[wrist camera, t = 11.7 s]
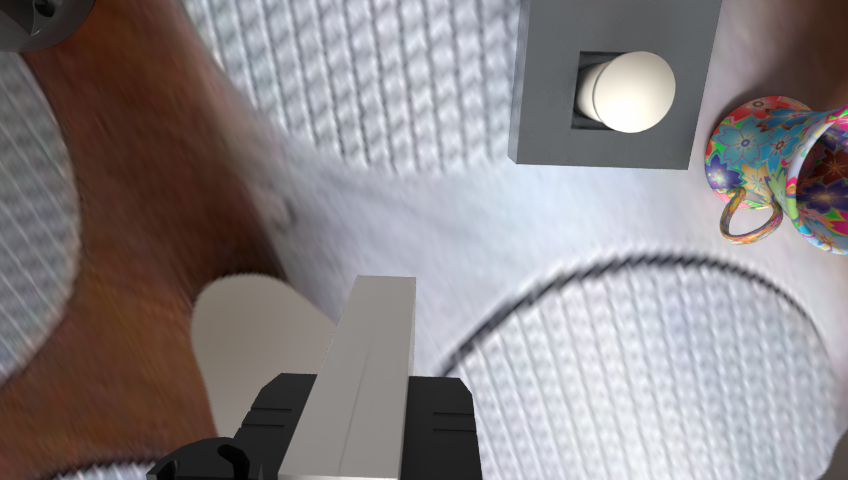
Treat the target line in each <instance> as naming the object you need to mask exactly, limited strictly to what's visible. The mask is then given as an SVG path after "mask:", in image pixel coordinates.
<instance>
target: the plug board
mask: <svg viewBox="0 0 848 480" xmlns="http://www.w3.org/2000/svg"><path fill="white" fill-rule="evenodd" d="M721 3H722V0H521V4H520V16H519V28H518V39H517V51H516V63H515V75H514V87H513V98H512V110H511V122H510V134H509V146H508V157H509V158H510V159H511V160H512V161H513V162H514V163H515V164H530V165H560V166H589V167H618V168H648V169H677V170H688V166H689V161H690V156H691V151H692V146H693V141H694V136H695V131H696V126H697V121H698V116H699V111H700V106H701V101H702V97H703V92H704V87H705V82H706V77H707V72H708V67H709V62H710V57H711V52H712V47H713V42H714V37H715V32H716V27H717V22H718V17H719V12H720V8H721ZM639 51H644V52H650V53H653V54H656V55H658V56H659V57H661V58H662V59H664V60H665V61H666V62H667V64H668V65H669V66H670V68H671V70H672V72H673V75H674V78H675V95H674V99H673V102H672V105H671V107H670V108H669V110H668V112H667V113H666V115H665V116H664V117H663V118H662V119H661V120H660V121H659V122H658V123H656V124H655V125H654V126H652V127H650V128H648V129H646V130H643V131H640V132H634V133H628V132H622V131H618V130H614V129H612V128H610V127H608V126H606V125H605V124H604V123H603V122H599V121H594V120H590V119H586V118H584V117H582V116H581V115H579V114H578V113H577V112H576V111H575V109H574V107H573V105H574V96H575V88H576V80H577V75H578V73H579V72H580V71H581V70H582V69H584V68H585V67H587V66H589V65H591V64H594V63H600V62H606V61H611V60H613V59H614V58H616V57H618V56H620V55H623V54H626V53H632V52H639Z"/></svg>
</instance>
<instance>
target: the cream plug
mask: <svg viewBox="0 0 848 480" xmlns="http://www.w3.org/2000/svg"><path fill="white" fill-rule="evenodd" d="M674 95H675V78H674V75H673V72H672V70H671V68H670V66H669V65H668V64H667V62H666V61H665V60H664V59H662V58H661V57H659V56H658V55H656V54H653V53H650V52H644V51H639V52H632V53H626V54H623V55H620V56H618V57H616V58H614V59H613V60H611V61H606V62H600V63H594V64H591V65H589V66H587V67H585V68H584V69H582V70H581V71H580V72H579V73H578V75H577V80H576V88H575V96H574V105H573V107H574V109H575V111H576V112H577V113H578V114H579V115H581V116H582V117H584V118H586V119H590V120H594V121H599V122H603V123H604V124H605V125H606V126H608V127H610V128H612V129H614V130H618V131H622V132H628V133H634V132H640V131H643V130H646V129H648V128H650V127H652V126H654V125H655V124H656V123H658V122H659V121H660V120H661V119H662V118H663V117H664V116H665V115H666V113H667V112H668V110H669V108H670V107H671V105H672V102H673V99H674Z"/></svg>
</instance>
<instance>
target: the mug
mask: <svg viewBox="0 0 848 480" xmlns="http://www.w3.org/2000/svg"><path fill="white" fill-rule="evenodd" d="M705 173H706V177H707V180H708V183H709V185H710V187H711V188H712V190H713V191H714V193H715V194H716V195H717V196H718V197H719V198H720V199H722V200H723V201H724V202H726V203H728V204H727V205H726V207H725V209H724V211H723V213H722V216H721V219H720V231H721V233H722V235H723V237H724V238H725V239H726V241H728V242H729V243H731V244H734V245H746V244H750V243H754V242H756V241H759V240H761V239H763V238H765V237H767V236H768V235H770V234H771V233H772V232H774V231H775V230H776V229H777V228H778V226H779V225H780V224H781V222H782V219H783V213H785V214H786V215H787V216H788V217H789V218H790V219H791V221H792V223H793V224H794V226H795V227H796V229H797V230H798V232H799V233H800V234H801V235H802V236H803V237H804V238H805V239H806V240H807V241H809V242H810V243H812V244H813V245H815V246H817V247H819V248H821V249H823V250H826V251H829V252H832V253H837V254H844V255H848V104H847V105H845V106H843V107H840V108H838V109H834V110H830V111H812V110H811V109H810V108H809V107H807V106H806V105H805V104H803V103H801V102H800V101H798V100H795V99H793V98H789V97H784V96H767V97H762V98H758V99H755V100H752V101H750V102H747V103H745V104H743V105H741V106H740V107H738V108H737V109H735V110H734V111H732V112H731V113H730V114H729V115H728V116H727V117H726V118H725V119H724V120H723V121H722V122H721V123H720V124H719V126H718V127H717V128H716V130H715V131H714V133H713V135H712V137H711V139H710V141H709V144H708V147H707V150H706V155H705ZM737 207H738V208H743V209H762V208H767V207H771V208H772V209H773V210H774V211H773V215H772V216H771V218H770V219H769V220H768V221H767V222H766V223H765V224H764V225H763V226H761V227H760V228H758V229H756V230H754V231H752V232H749V233H746V234H742V235H731V234H729V223H730V219H731V217H732V215H733V213H734V212H735V210H736V209H737Z"/></svg>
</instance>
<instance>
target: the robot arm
mask: <svg viewBox="0 0 848 480" xmlns="http://www.w3.org/2000/svg"><path fill="white" fill-rule="evenodd" d="M94 1H95V0H0V51H6V52H33V51H38V50H42V49H46V48H49V47H51V46H54V45H56V44H58V43H60V42H61V41H63V40H65V39H66V38H67V37H69V36H70V35H71V34H72V33H73V32H74V31H76V30H77V28H78V27H79V26H80V25H81V24H82V23H83V21H84V20H85V18H86V17H87V15H88V14H89V12H90V10H91V8H92V6H93V4H94ZM415 300H416V277H391V276H363V275H358V276H357V278H356V281H355V283H354V286H353V288H352V291H351V293H350V296H349V298H348V301H347V303H346V306H345V308H344V311H343V313H342V316H341V318H340V320H339V323H338V325H337V328H336V330H335V333H334V335H333V338H332V340H331V343H330V345H329V348H328V351H327V353H326V355H325V358H324V360H323V363H322V365H321V368H320V370H319V373H318V374H292V373H281V374H279V375H278V376H277V377H276V378H274V379H273V380H272V381H271V382H269V383H268V384H267V385H265V386H264V387H263V388H262V389H261V390H260V392H259V394H258V396H257V397H256V399H255V401H254V403H253V404H252V406H251V410H250V411H249V412H248V413H247V415H246V417H245V419H244V420H243V422H242V426H241V428H239V429H238V431H237V433H236V434H235V436H234V438H228V437H219V438H209V439H203V440H200V441H197V442H194V443H191V444H188V445H185V446H182V447H180V448H179V449H177V450H175V451H173V452H172V453H170V454H168V455H167V456H165V457H163V458H162V459H161V460H160V461H159V462H158V463H157V464H156V465H155V466H154V467H153V468H152V469H151V470H150V471H149V472H148V473H147V474H146V478H147V480H483V479H482V471H481V463H480V455H479V446H478V438H477V434H476V431H477V430H476V422H475V418H474V406H473V398H472V394H471V393H470V391H469V390H468V389H467V387H466V386H465V385H464V383H463V382H462V381H461V379H460V378H449V377H422V376H413V372H414V338H415Z"/></svg>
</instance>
